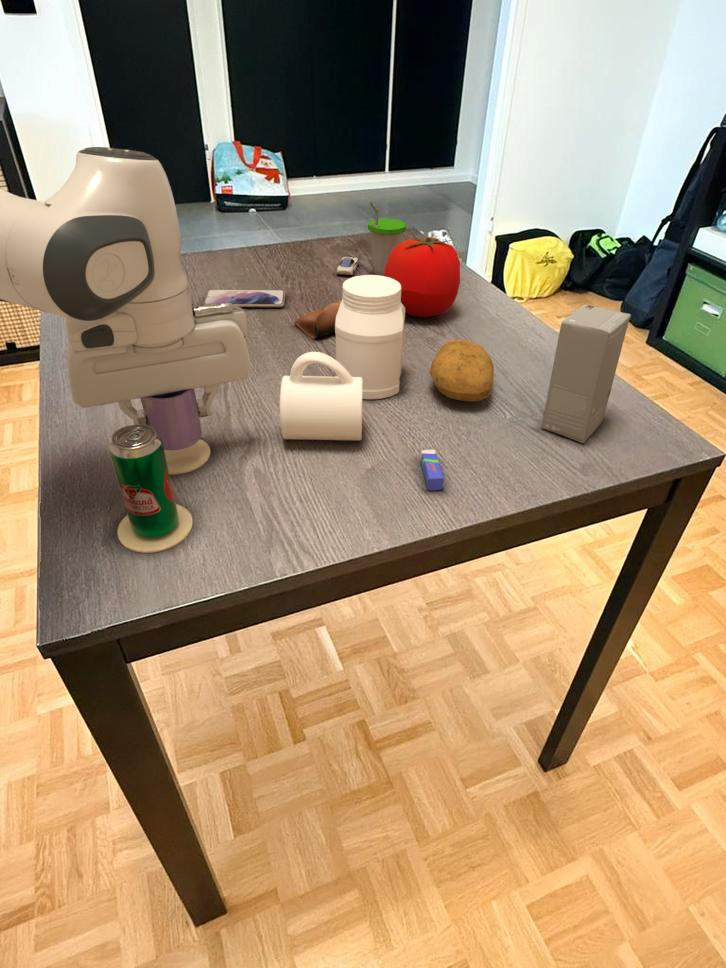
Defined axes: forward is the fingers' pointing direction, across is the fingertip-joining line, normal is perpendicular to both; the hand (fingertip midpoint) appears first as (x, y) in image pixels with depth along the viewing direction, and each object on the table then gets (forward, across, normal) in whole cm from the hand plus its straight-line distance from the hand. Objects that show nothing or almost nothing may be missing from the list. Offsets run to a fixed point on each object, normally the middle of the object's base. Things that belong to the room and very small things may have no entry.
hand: (173, 420), depth 76 cm
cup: (+6, -52, -50) cm, 72 cm away
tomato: (+6, -50, -31) cm, 59 cm away
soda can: (+5, +5, +13) cm, 15 cm away
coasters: (+5, +3, +6) cm, 9 cm away
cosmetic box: (+6, -52, +12) cm, 54 cm away
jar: (+6, -30, -10) cm, 32 cm away
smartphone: (+6, -20, -46) cm, 51 cm away
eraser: (+6, -28, +15) cm, 33 cm away
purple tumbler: (+2, 0, 0) cm, 2 cm away
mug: (+6, -19, +2) cm, 20 cm away
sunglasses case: (+6, -35, -31) cm, 47 cm away
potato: (+6, -42, -2) cm, 42 cm away
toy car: (+6, -46, -57) cm, 73 cm away
